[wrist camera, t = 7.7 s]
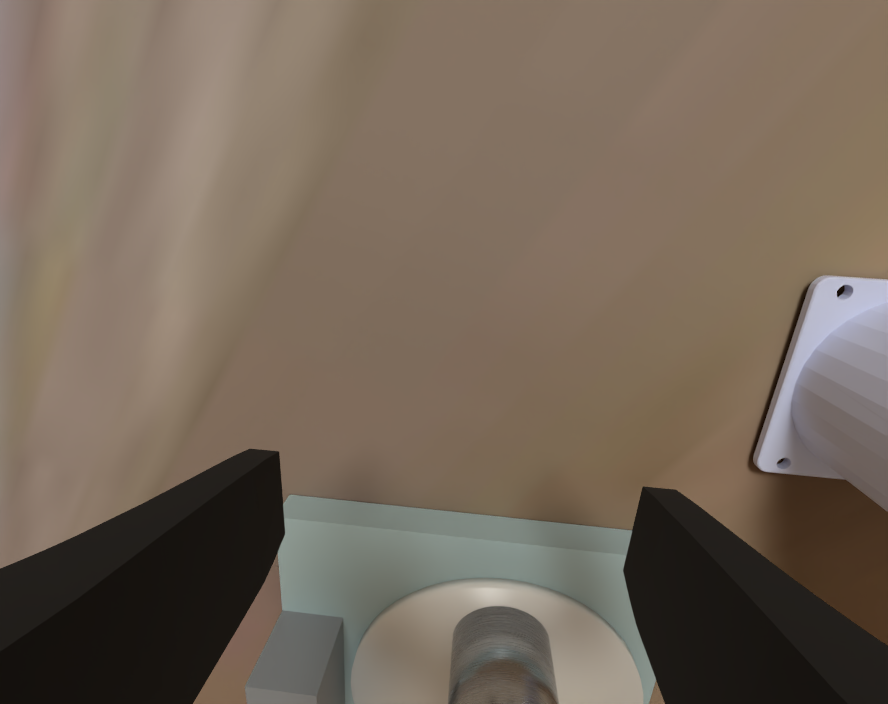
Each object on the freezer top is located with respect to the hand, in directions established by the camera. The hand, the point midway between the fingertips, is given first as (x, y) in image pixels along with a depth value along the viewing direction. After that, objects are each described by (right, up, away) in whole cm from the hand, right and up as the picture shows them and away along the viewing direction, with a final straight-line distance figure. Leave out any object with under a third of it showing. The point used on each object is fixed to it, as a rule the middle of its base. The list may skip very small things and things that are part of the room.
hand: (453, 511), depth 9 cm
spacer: (+2, -10, +11) cm, 15 cm away
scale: (+1, -13, +15) cm, 20 cm away
